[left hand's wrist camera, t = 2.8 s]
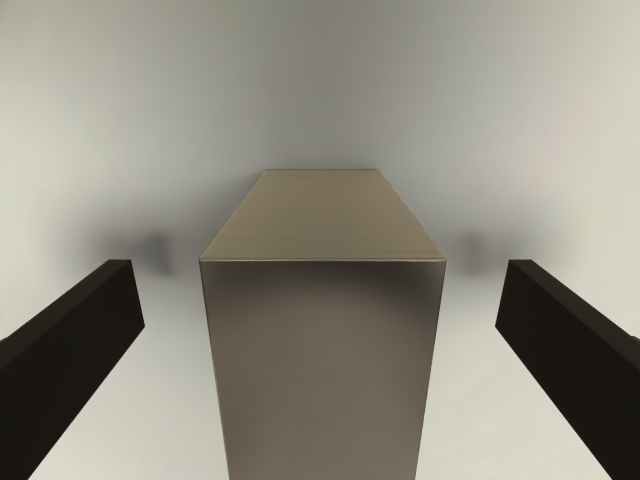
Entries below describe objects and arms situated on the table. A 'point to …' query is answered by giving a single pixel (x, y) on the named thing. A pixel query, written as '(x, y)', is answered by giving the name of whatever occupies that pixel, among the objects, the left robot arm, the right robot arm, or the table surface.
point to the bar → (322, 327)
